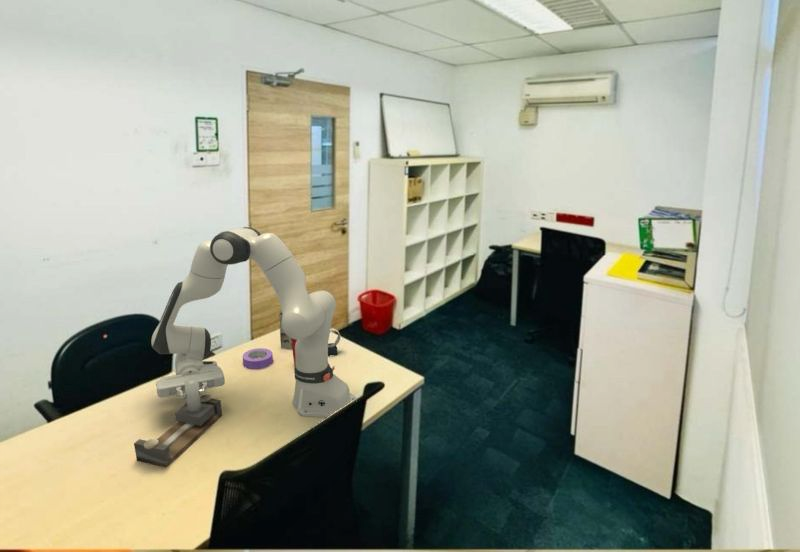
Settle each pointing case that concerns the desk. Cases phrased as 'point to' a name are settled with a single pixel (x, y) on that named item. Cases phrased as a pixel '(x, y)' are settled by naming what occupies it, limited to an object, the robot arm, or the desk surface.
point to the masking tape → (253, 363)
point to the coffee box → (284, 336)
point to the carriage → (194, 405)
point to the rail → (175, 438)
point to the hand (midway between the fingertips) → (193, 394)
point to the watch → (333, 344)
